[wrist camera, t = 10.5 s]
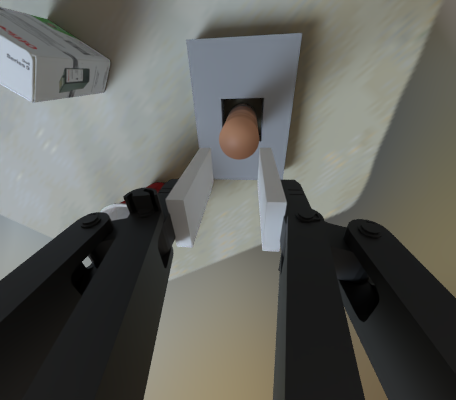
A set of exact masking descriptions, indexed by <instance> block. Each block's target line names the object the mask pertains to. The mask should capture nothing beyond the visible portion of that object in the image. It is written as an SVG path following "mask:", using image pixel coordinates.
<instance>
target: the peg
mask: <svg viewBox="0 0 456 400" xmlns="http://www.w3.org/2000/svg"><path fill="white" fill-rule="evenodd" d="M219 144H220V147H221V149H222V151H223V152H224V153H225V154H226V155H227V156H228V157H230V158H232V159H237V160H242V159H246V158H248V157H250V156H251V155H252V154H254V152H255V151H256V150H257V148H258V145H259V132H258V125H257V116H256V113H255V111H254V109H253V108H252V107H251V106H250V105H248V104H238V105H236V106H235V107H233V109H232V110H231V111H230V113H229V115H228V118H227V120H226V122H225V124H224V126H223V128H222V130H221V132H220V135H219Z"/></svg>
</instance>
